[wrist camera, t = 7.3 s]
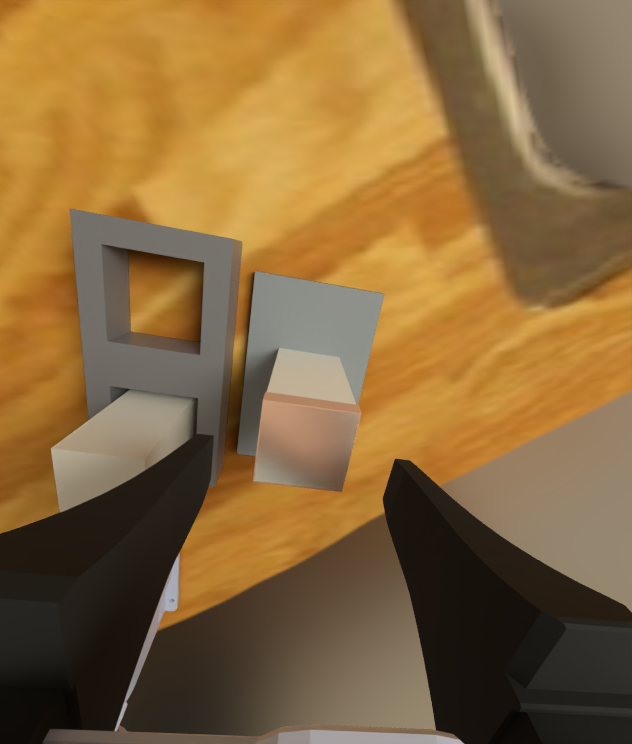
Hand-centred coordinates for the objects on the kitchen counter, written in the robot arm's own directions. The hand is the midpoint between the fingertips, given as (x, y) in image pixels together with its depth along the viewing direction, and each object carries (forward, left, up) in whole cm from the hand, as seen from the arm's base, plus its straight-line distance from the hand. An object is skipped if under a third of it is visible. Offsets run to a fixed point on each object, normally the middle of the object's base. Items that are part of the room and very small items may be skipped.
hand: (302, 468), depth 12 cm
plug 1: (-4, +9, -10) cm, 14 cm away
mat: (0, 0, -10) cm, 10 cm away
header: (0, +9, -10) cm, 13 cm away
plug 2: (0, 0, -9) cm, 9 cm away
